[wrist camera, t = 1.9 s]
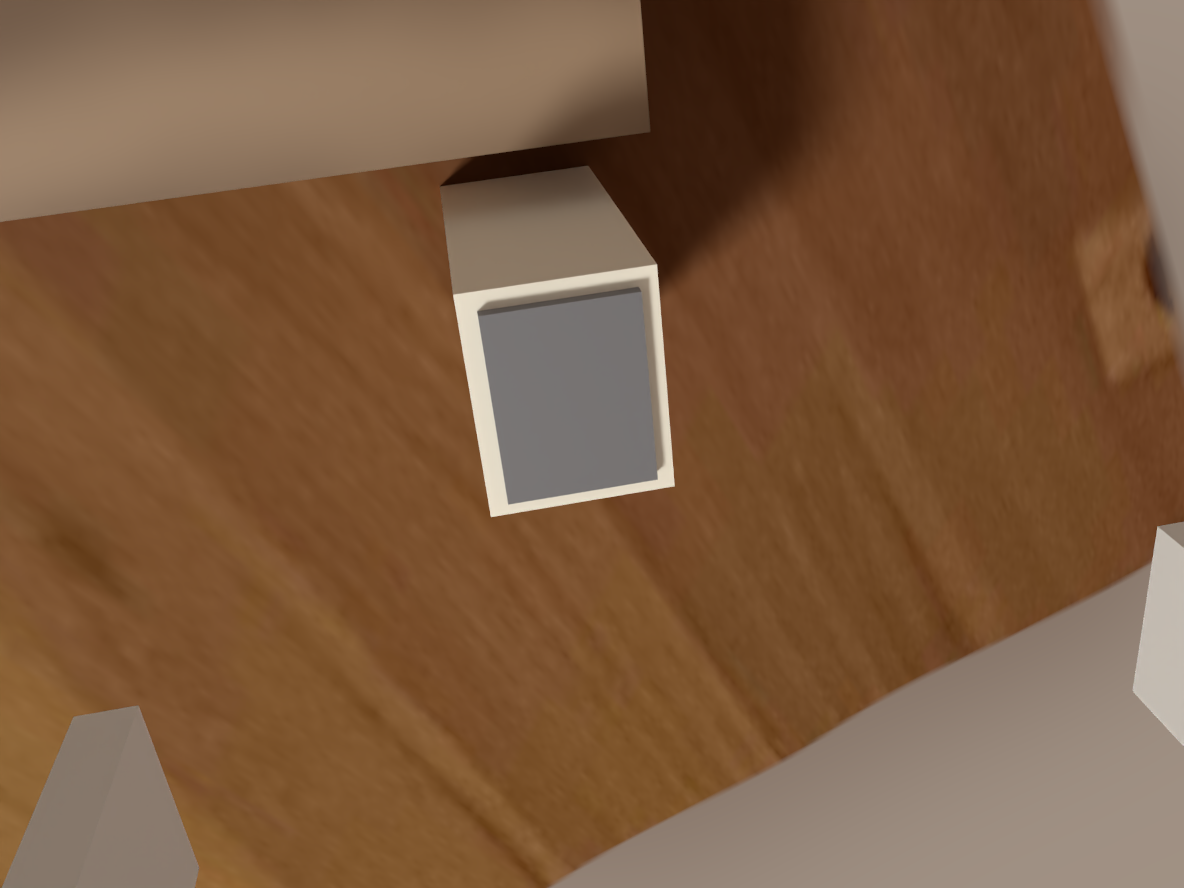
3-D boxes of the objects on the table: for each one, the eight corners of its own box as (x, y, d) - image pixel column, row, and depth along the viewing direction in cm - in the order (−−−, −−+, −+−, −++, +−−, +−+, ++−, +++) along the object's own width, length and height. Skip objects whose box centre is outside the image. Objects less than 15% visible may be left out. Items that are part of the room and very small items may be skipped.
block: (439, 186, 29) (453, 299, 21) (588, 165, 29) (660, 269, 21) (468, 360, 31) (492, 523, 23) (606, 338, 32) (677, 493, 23)
